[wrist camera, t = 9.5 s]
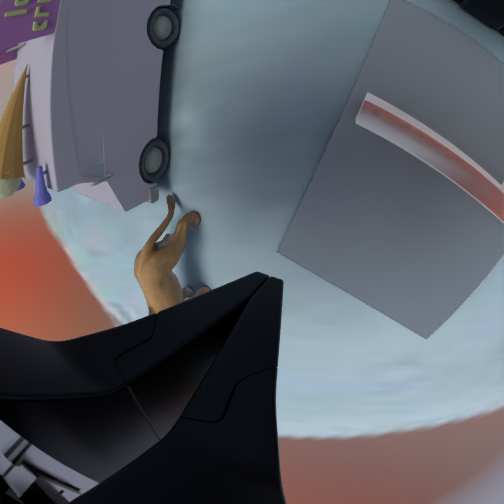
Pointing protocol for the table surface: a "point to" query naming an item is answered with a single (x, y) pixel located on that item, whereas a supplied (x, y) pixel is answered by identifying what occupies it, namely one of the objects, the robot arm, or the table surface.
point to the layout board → (408, 177)
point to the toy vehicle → (85, 97)
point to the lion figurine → (164, 264)
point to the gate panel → (433, 155)
